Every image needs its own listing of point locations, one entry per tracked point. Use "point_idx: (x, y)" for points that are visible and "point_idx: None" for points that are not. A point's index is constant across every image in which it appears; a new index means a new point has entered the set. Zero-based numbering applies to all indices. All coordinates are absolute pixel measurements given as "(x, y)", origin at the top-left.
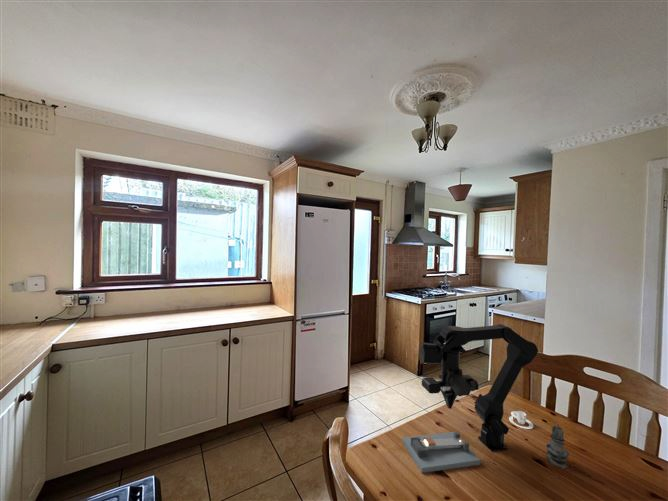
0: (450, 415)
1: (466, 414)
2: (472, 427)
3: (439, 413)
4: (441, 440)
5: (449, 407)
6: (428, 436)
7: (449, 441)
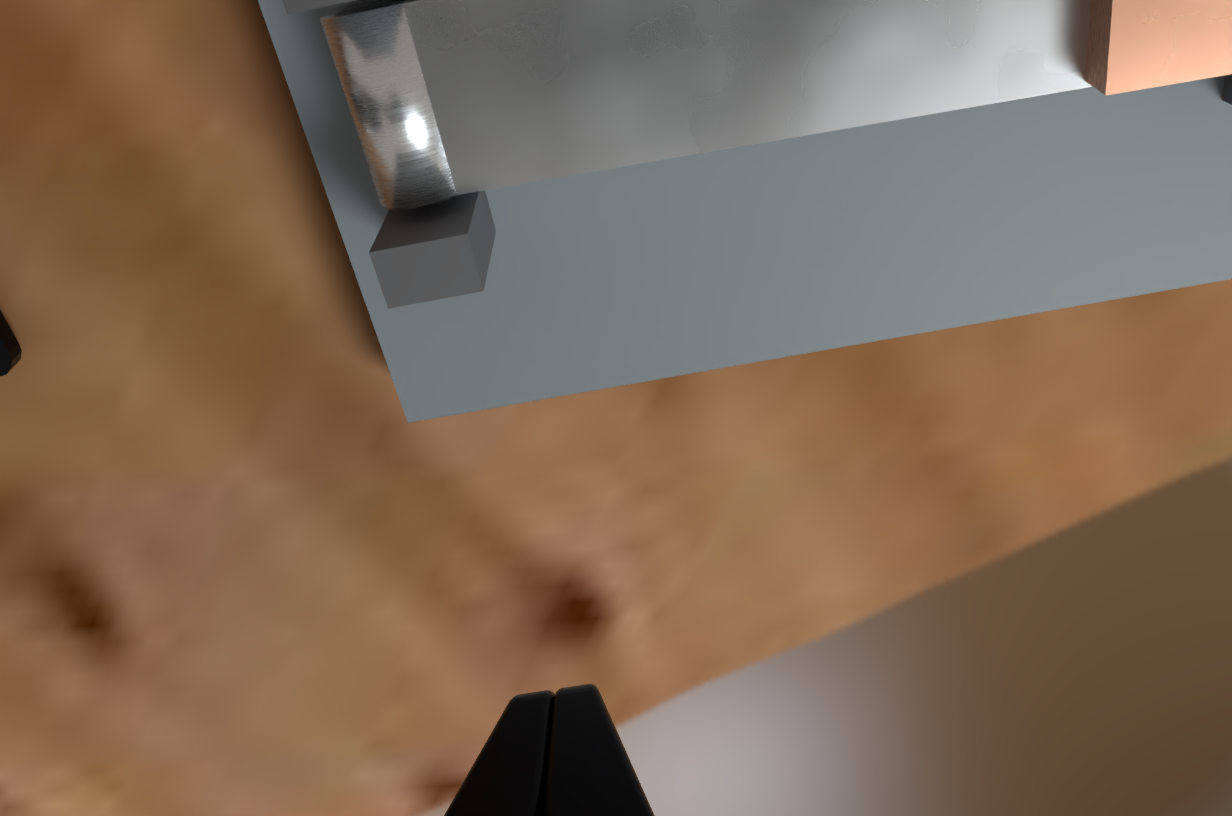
0: (324, 756)
1: (83, 783)
2: (60, 567)
3: None
4: (843, 78)
5: (588, 713)
6: (933, 292)
7: (672, 64)
